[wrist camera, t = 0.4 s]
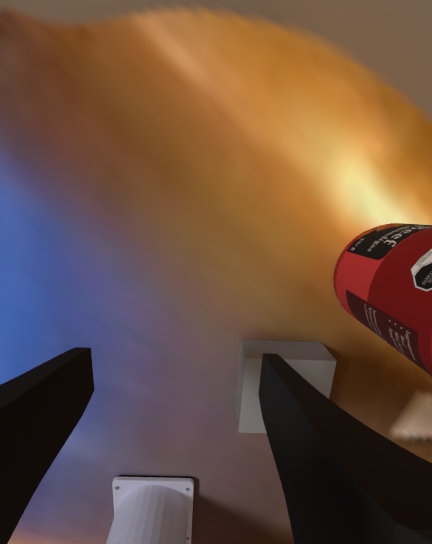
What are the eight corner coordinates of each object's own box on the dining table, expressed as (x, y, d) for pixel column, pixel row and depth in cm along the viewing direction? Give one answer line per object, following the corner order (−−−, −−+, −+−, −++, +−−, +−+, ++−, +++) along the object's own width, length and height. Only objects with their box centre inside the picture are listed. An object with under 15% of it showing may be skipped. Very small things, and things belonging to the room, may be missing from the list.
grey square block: (307, 405, 23) (321, 434, 20) (235, 404, 23) (238, 432, 20) (319, 340, 21) (336, 361, 18) (240, 337, 21) (245, 358, 18)
